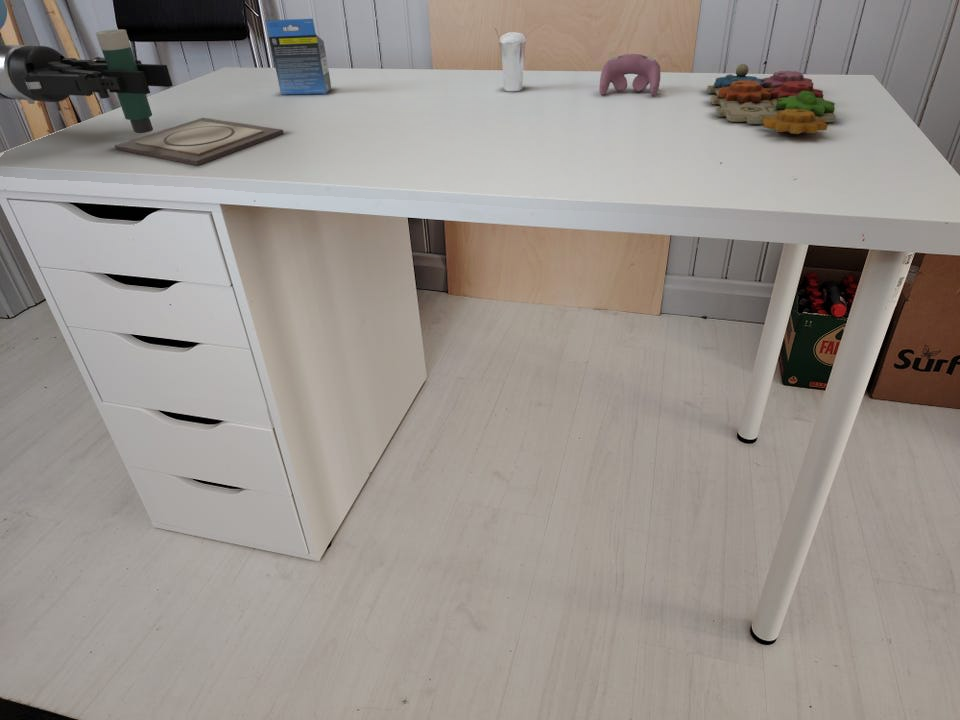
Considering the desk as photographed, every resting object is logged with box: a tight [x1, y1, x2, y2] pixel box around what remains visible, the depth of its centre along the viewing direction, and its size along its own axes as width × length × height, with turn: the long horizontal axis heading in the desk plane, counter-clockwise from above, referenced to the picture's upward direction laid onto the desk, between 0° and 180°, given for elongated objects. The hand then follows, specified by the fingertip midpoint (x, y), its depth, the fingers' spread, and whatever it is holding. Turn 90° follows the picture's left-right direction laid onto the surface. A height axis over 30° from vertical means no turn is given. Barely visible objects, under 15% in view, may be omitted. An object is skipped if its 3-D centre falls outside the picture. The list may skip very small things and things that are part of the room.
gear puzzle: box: [706, 63, 836, 135], centre depth 95 cm, size 31×16×4 cm, turn 169°
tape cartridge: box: [264, 18, 332, 96], centre depth 116 cm, size 9×4×12 cm, turn 84°
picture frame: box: [114, 117, 284, 166], centre depth 96 cm, size 18×16×1 cm
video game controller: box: [599, 53, 661, 97], centre depth 108 cm, size 10×5×7 cm, turn 74°
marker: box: [95, 28, 154, 134], centre depth 90 cm, size 4×4×13 cm
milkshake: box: [494, 27, 527, 92], centre depth 112 cm, size 4×5×10 cm
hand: (156, 79), depth 88 cm, fingers closed on marker, 3 cm apart
